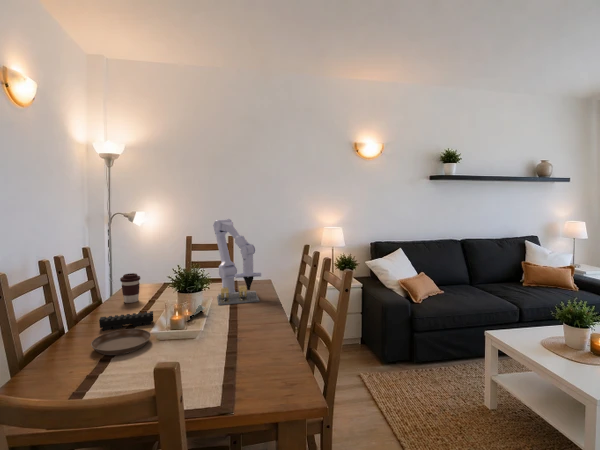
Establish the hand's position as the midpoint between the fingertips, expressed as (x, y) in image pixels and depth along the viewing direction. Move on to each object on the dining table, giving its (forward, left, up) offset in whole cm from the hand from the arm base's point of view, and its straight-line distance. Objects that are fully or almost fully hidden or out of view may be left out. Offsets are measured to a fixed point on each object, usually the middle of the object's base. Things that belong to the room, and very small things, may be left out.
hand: (248, 289), depth 200 cm
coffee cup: (-12, -63, -5) cm, 64 cm away
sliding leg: (+2, -3, -3) cm, 5 cm away
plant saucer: (+51, -55, -5) cm, 76 cm away
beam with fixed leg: (+2, -6, -4) cm, 7 cm away
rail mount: (+28, -58, -5) cm, 65 cm away
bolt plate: (+2, -6, -5) cm, 8 cm away
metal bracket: (+22, -31, -5) cm, 39 cm away
